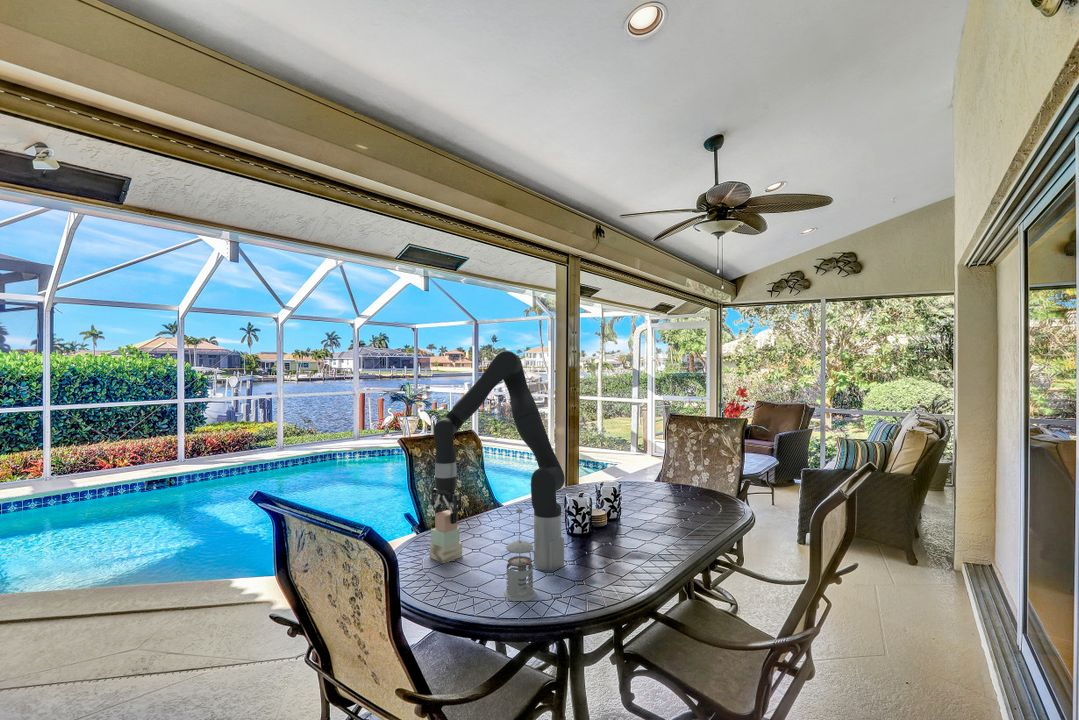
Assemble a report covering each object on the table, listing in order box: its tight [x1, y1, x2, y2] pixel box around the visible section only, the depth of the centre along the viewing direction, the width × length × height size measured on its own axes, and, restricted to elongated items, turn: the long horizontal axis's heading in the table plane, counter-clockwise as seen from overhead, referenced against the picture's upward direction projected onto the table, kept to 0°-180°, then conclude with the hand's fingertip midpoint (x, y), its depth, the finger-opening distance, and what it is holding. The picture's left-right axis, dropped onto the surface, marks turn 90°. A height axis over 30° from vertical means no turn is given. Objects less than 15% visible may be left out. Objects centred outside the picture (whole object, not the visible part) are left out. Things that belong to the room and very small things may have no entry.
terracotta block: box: [434, 509, 458, 533], centre depth 172 cm, size 6×6×6 cm
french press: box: [503, 508, 537, 602], centre depth 145 cm, size 10×12×25 cm
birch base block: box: [429, 541, 463, 564], centre depth 172 cm, size 8×8×5 cm
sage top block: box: [430, 527, 461, 548], centre depth 172 cm, size 7×7×5 cm
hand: (446, 520), depth 172 cm, fingers open, 8 cm apart
